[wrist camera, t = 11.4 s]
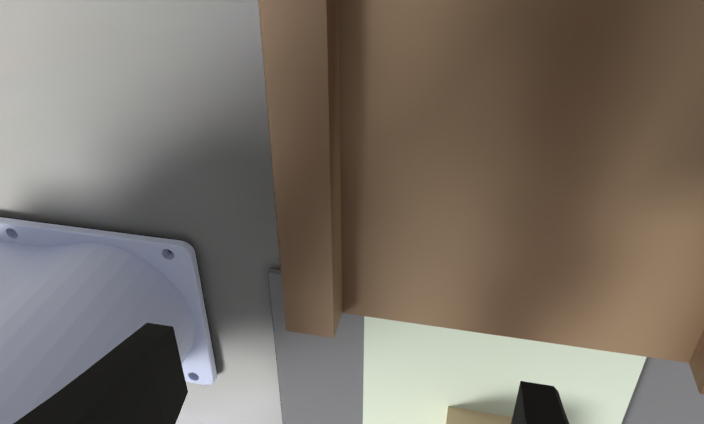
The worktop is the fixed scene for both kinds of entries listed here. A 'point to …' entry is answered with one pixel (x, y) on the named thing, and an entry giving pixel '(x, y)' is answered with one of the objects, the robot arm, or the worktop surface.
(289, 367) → the charcoal mat
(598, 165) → the walnut box
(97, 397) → the robot arm
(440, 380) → the cover plate
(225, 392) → the worktop surface
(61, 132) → the worktop surface
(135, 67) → the worktop surface
